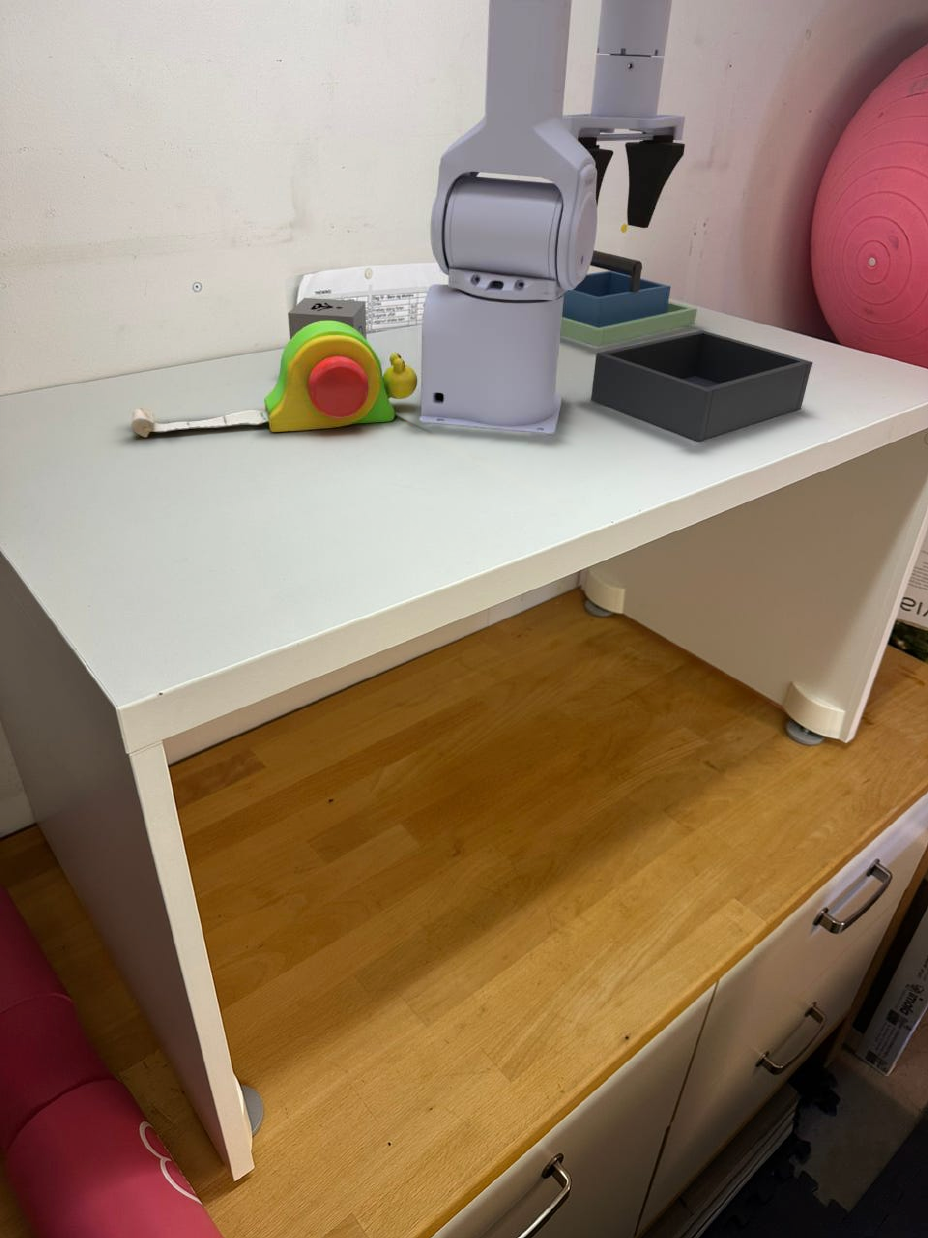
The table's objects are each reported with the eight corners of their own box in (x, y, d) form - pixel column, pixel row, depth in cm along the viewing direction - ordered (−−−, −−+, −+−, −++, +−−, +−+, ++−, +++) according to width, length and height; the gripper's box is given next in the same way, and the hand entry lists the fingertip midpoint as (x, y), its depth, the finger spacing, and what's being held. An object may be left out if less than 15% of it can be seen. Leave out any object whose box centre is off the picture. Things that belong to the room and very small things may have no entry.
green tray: (596, 351, 79) (599, 329, 78) (504, 321, 87) (505, 301, 86) (693, 328, 87) (697, 308, 86) (601, 302, 95) (603, 284, 94)
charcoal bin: (696, 448, 60) (707, 391, 58) (589, 406, 67) (595, 352, 65) (799, 414, 67) (813, 361, 65) (693, 378, 74) (701, 329, 71)
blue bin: (593, 337, 82) (601, 266, 78) (535, 318, 87) (540, 250, 83) (665, 323, 87) (675, 255, 84) (606, 305, 92) (613, 241, 89)
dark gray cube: (308, 359, 74) (304, 297, 72) (367, 363, 74) (365, 301, 71) (292, 377, 70) (288, 312, 67) (355, 381, 70) (353, 316, 67)
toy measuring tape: (427, 429, 62) (429, 333, 58) (133, 451, 57) (115, 348, 53) (406, 399, 67) (406, 309, 63) (134, 416, 62) (118, 320, 58)
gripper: (605, 54, 68) (585, 242, 76) (722, 59, 76) (694, 230, 84) (542, 52, 73) (530, 229, 80) (659, 57, 81) (638, 219, 88)
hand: (610, 229), depth 82 cm, fingers open, 7 cm apart
